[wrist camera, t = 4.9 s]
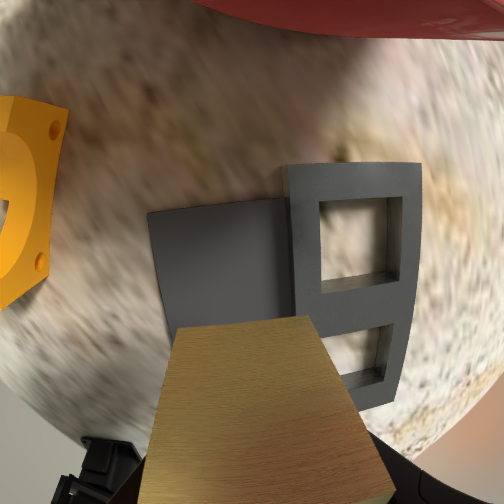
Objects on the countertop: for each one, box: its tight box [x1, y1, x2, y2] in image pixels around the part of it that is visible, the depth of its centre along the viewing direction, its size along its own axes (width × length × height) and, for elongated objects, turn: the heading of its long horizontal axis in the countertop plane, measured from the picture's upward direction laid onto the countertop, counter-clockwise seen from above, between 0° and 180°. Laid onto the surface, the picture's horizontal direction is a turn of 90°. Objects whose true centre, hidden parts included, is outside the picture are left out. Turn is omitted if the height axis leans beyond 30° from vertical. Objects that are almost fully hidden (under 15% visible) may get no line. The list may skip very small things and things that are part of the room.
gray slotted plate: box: [281, 162, 422, 412], centre depth 20 cm, size 20×9×2 cm, turn 5°
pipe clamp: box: [0, 95, 70, 311], centre depth 13 cm, size 12×4×6 cm, turn 166°
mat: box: [147, 197, 292, 343], centre depth 19 cm, size 10×10×1 cm
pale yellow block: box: [137, 315, 396, 504], centre depth 7 cm, size 4×4×7 cm
